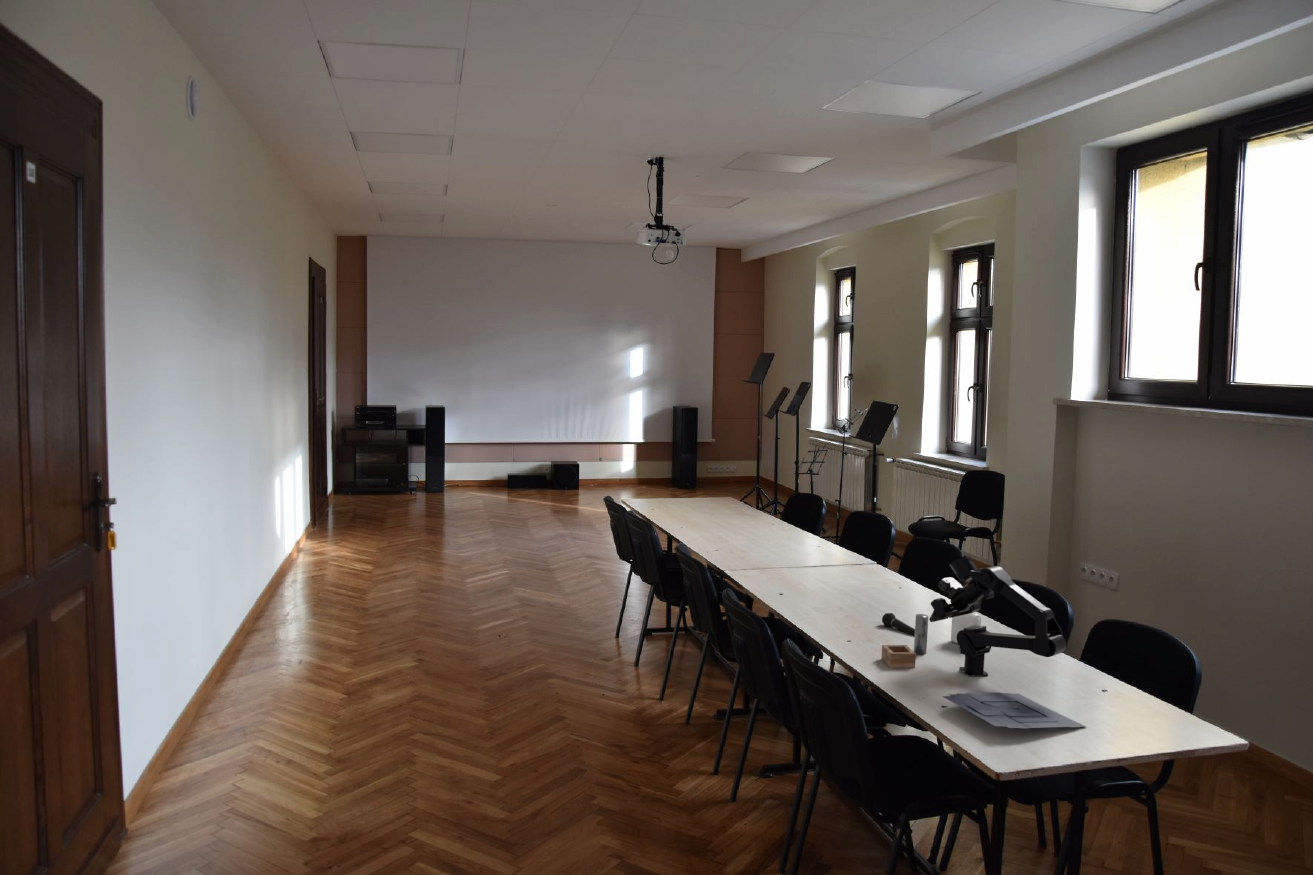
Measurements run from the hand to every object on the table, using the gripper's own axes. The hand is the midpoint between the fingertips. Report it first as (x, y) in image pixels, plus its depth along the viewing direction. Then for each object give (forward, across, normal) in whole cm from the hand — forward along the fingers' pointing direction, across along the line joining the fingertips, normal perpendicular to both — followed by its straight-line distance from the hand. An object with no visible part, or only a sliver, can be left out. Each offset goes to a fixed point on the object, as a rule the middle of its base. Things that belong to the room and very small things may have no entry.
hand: (939, 618), depth 279 cm
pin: (+14, 0, +4) cm, 15 cm away
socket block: (+12, +14, +7) cm, 20 cm away
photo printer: (+13, -21, +6) cm, 25 cm away
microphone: (+28, -13, -8) cm, 31 cm away
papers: (-18, +21, +38) cm, 47 cm away
